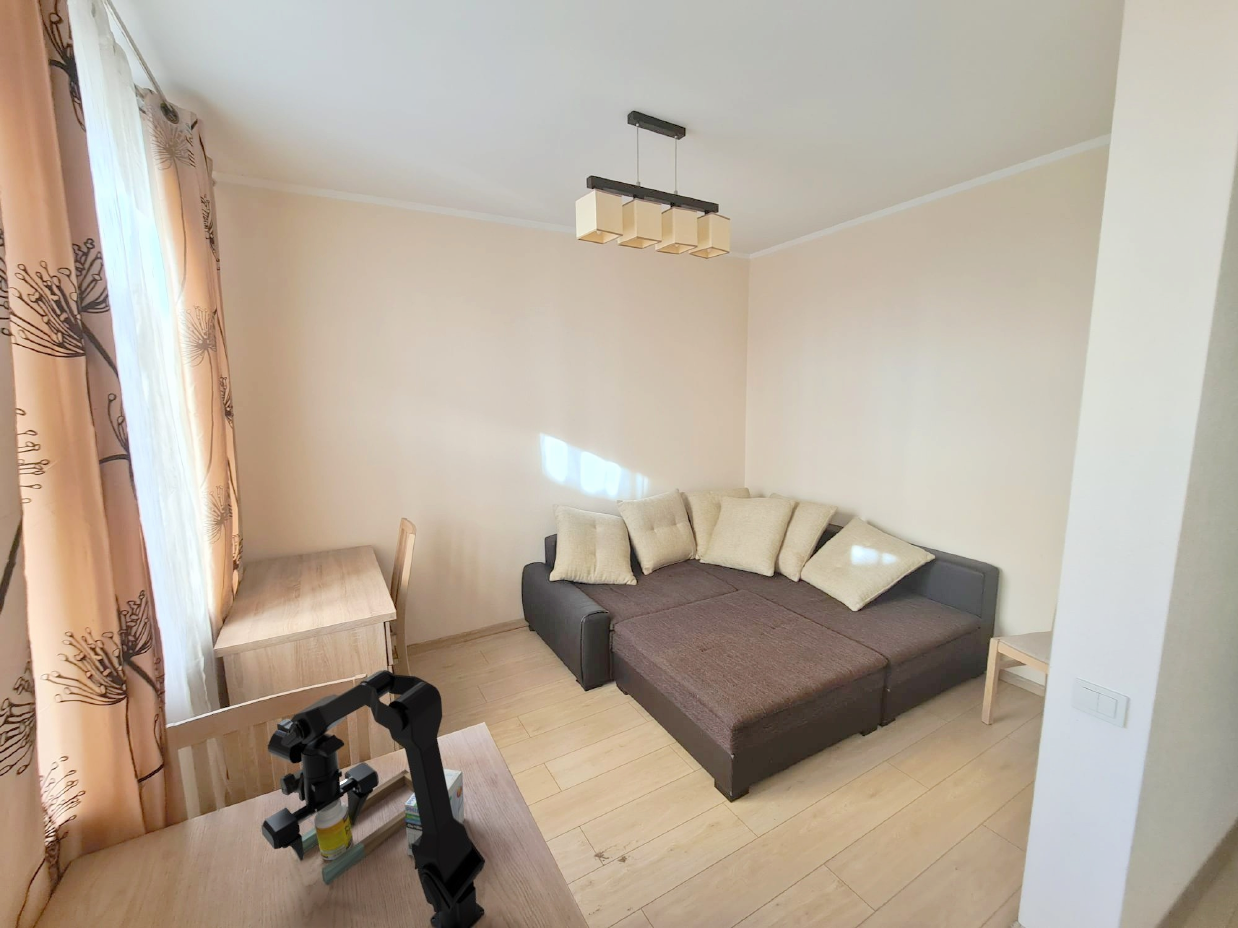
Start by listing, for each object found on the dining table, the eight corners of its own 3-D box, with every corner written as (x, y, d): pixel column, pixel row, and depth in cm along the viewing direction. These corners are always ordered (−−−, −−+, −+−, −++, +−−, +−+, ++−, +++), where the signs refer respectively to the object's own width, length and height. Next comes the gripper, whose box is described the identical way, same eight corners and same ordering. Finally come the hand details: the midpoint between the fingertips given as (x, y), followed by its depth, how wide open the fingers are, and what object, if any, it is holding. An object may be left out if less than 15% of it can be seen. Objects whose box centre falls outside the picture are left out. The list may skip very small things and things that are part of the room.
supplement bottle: (354, 852, 99) (345, 806, 97) (321, 867, 96) (311, 820, 94) (353, 830, 104) (344, 786, 102) (321, 843, 101) (312, 799, 99)
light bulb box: (438, 862, 97) (435, 810, 96) (406, 855, 98) (402, 805, 97) (465, 816, 108) (463, 769, 106) (436, 811, 109) (433, 765, 107)
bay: (437, 803, 111) (437, 792, 111) (326, 885, 93) (325, 872, 92) (405, 779, 118) (405, 769, 118) (296, 851, 99) (295, 839, 99)
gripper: (349, 724, 108) (354, 791, 111) (245, 778, 93) (253, 854, 96) (377, 746, 102) (382, 816, 104) (271, 807, 87) (279, 888, 89)
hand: (327, 840), depth 98 cm, fingers open, 9 cm apart
